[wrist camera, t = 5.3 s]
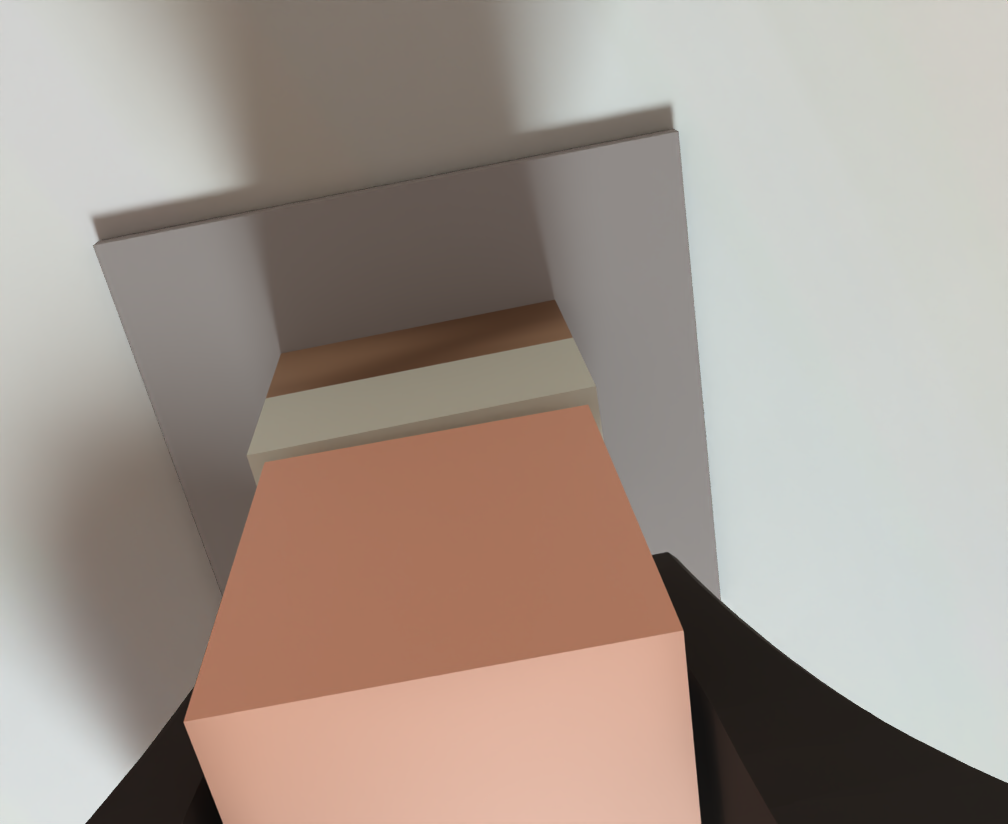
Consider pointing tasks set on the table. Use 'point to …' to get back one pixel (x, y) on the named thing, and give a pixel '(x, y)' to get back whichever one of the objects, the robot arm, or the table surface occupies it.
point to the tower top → (424, 401)
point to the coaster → (433, 313)
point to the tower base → (418, 347)
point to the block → (447, 641)
